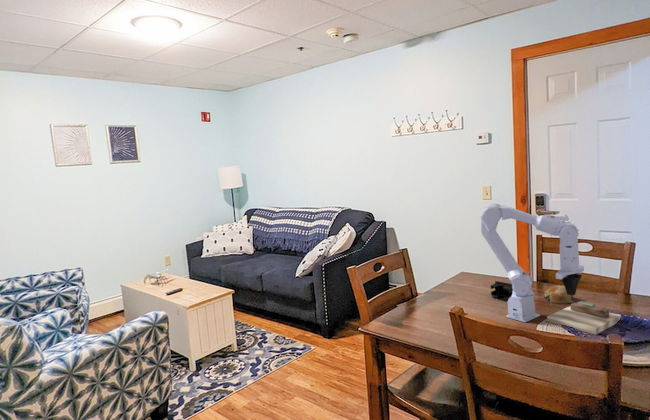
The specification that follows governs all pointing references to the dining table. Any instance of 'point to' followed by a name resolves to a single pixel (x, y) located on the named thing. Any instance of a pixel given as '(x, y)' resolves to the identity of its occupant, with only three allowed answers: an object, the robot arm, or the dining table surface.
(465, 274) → the dining table surface
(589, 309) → the walnut leg
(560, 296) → the bread roll
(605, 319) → the cutting board
